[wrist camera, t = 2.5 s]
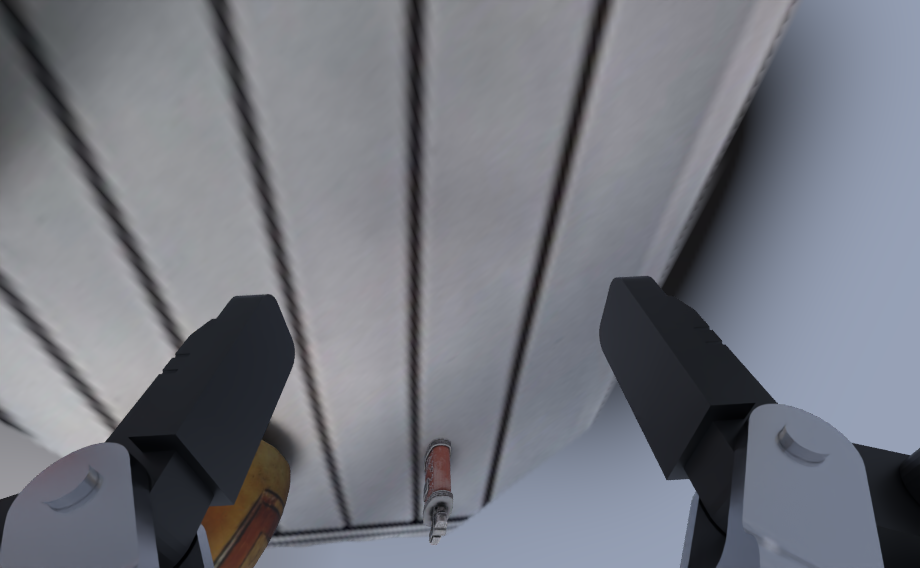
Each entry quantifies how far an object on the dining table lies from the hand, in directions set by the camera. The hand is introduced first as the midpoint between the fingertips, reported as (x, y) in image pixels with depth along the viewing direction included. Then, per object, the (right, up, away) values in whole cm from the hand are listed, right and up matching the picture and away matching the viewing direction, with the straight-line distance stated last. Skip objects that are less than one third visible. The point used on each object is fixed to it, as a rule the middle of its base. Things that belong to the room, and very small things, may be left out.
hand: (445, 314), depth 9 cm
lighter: (-3, -23, +43) cm, 49 cm away
